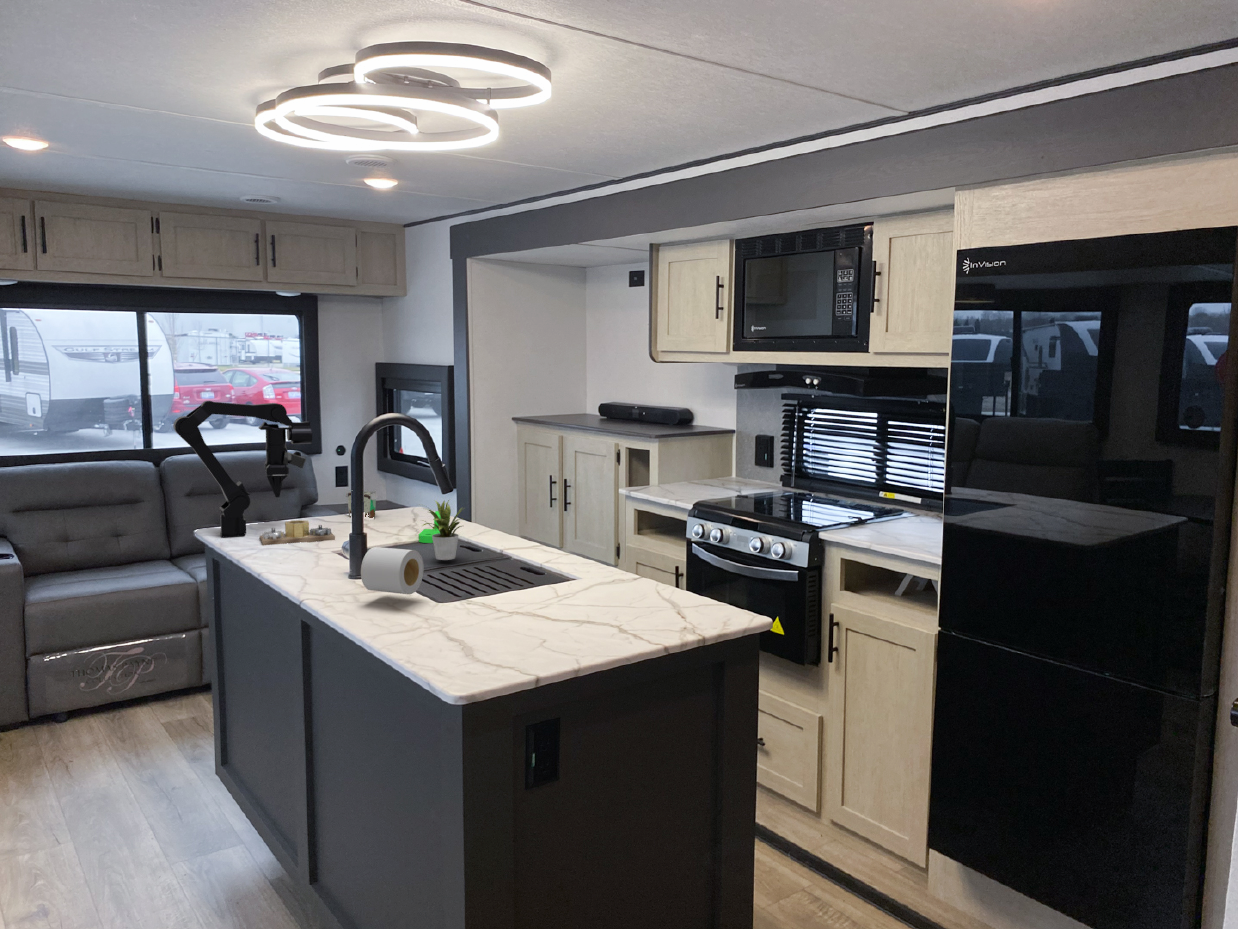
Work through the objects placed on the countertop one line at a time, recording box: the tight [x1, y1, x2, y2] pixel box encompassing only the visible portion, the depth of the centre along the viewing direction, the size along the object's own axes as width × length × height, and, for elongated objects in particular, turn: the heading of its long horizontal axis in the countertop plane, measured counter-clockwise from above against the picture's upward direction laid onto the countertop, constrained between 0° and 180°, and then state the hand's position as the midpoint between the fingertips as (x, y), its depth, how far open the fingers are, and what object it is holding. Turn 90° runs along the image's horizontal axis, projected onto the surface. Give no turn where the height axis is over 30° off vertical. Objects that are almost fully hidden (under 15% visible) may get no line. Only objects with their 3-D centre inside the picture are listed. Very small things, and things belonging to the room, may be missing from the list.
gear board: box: [259, 531, 336, 546], centre depth 269 cm, size 20×10×5 cm, turn 116°
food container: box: [345, 489, 379, 518], centre depth 303 cm, size 12×6×10 cm, turn 58°
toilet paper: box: [360, 546, 425, 595], centre depth 208 cm, size 10×10×10 cm
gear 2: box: [309, 524, 332, 536], centre depth 272 cm, size 6×6×3 cm
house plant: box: [417, 498, 465, 561], centre depth 246 cm, size 14×14×16 cm
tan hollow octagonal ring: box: [284, 519, 310, 538], centre depth 269 cm, size 6×6×4 cm
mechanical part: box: [418, 510, 441, 544], centre depth 274 cm, size 12×6×8 cm, turn 1°
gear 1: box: [261, 527, 285, 539], centre depth 267 cm, size 6×6×3 cm
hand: (277, 495), depth 278 cm, fingers open, 9 cm apart
